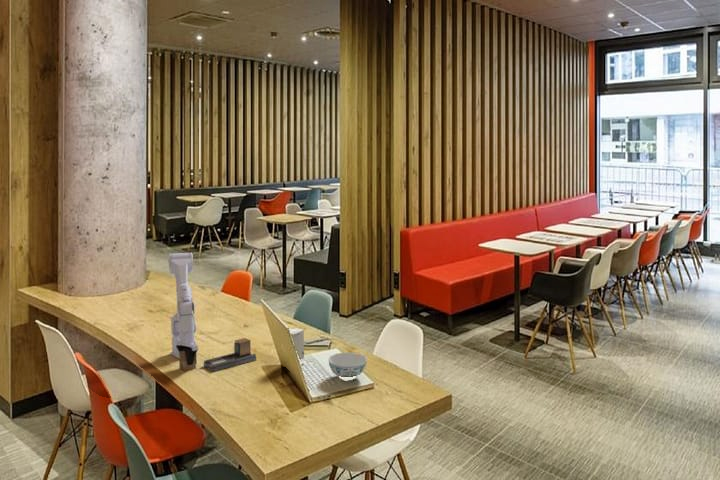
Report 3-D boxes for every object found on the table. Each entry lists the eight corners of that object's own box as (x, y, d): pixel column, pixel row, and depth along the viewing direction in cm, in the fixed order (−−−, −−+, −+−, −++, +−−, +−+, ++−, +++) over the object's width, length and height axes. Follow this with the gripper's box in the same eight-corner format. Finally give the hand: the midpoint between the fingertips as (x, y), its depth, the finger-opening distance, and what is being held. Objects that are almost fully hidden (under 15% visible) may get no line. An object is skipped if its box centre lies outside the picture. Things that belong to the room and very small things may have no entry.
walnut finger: (179, 368, 235) (179, 351, 234) (192, 365, 239) (192, 348, 238) (184, 371, 232) (183, 354, 231) (197, 367, 236) (196, 351, 235)
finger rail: (203, 366, 238) (203, 346, 237) (246, 355, 252) (245, 336, 250) (213, 371, 232) (212, 351, 231) (256, 360, 246) (256, 340, 244)
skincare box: (293, 370, 235) (292, 334, 233) (280, 367, 238) (280, 332, 236) (304, 363, 242) (304, 329, 240) (292, 361, 245) (292, 326, 243)
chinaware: (362, 387, 219) (362, 367, 218) (324, 383, 222) (324, 364, 221) (369, 372, 234) (370, 354, 232) (333, 369, 237) (333, 351, 235)
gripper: (168, 328, 236) (170, 360, 238) (185, 337, 225) (186, 370, 227) (185, 325, 240) (186, 356, 242) (202, 333, 230) (203, 366, 232)
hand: (187, 363), depth 235 cm, fingers closed on walnut finger, 4 cm apart
